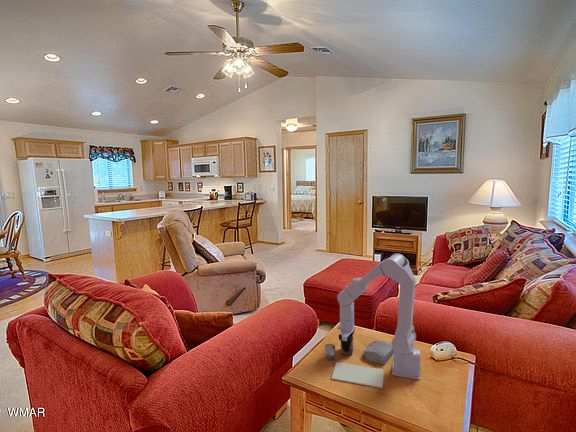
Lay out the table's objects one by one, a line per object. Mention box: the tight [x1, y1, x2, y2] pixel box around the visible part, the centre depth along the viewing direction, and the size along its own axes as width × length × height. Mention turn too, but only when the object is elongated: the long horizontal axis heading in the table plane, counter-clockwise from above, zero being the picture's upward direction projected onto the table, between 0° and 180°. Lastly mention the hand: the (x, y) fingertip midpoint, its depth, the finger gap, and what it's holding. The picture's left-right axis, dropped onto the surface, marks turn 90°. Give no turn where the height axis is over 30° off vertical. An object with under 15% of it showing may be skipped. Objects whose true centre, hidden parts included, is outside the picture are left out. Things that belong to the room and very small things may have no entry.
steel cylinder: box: [324, 343, 336, 362], centre depth 130 cm, size 4×4×5 cm
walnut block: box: [340, 336, 354, 356], centre depth 133 cm, size 4×4×6 cm
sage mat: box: [330, 361, 385, 389], centre depth 119 cm, size 18×10×1 cm, turn 71°
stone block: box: [363, 340, 394, 366], centre depth 131 cm, size 12×5×10 cm
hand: (347, 348), depth 133 cm, fingers closed on walnut block, 4 cm apart
